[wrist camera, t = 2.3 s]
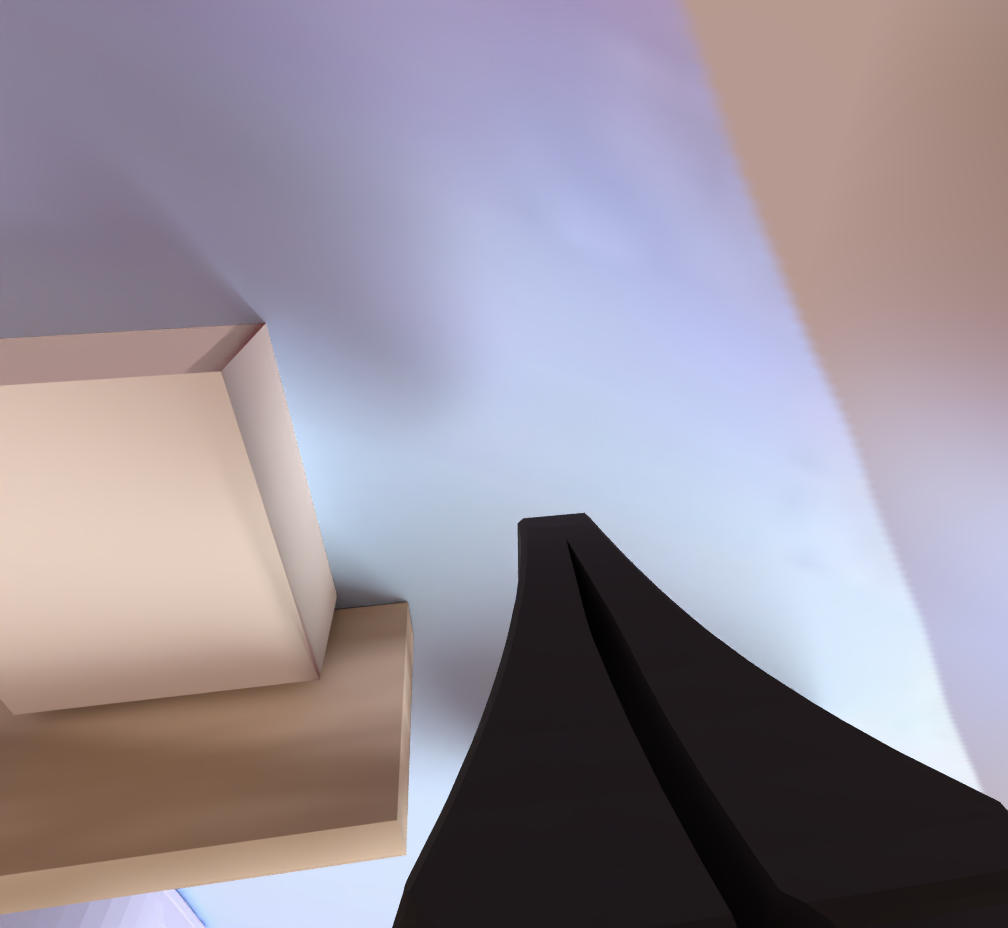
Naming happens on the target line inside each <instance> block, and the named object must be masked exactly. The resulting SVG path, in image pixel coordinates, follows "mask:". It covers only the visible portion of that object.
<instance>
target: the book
mask: <svg viewBox="0 0 1008 928" xmlns="http://www.w3.org/2000/svg"><path fill="white" fill-rule="evenodd" d="M336 599H337V593H336V589H335V586H334V582H333V578H332V574H331V570H330V566H329V563H328V559H327V555H326V551H325V547H324V543H323V540H322V536H321V532H320V528H319V524H318V520H317V517H316V513H315V509H314V505H313V501H312V497H311V494H310V490H309V486H308V482H307V478H306V474H305V471H304V467H303V463H302V459H301V455H300V451H299V448H298V444H297V440H296V436H295V432H294V428H293V425H292V421H291V417H290V413H289V409H288V405H287V402H286V398H285V394H284V390H283V386H282V382H281V379H280V375H279V371H278V367H277V363H276V359H275V355H274V352H273V348H272V344H271V340H270V336H269V332H268V329H267V325H266V323H262V324H245V325H227V326H210V327H193V328H175V329H158V330H141V331H123V332H106V333H89V334H71V335H54V336H37V337H19V338H2V339H0V699H1V700H2V702H3V703H4V704H5V705H6V706H7V708H8V709H9V710H10V711H11V712H12V714H13V715H17V714H26V713H35V712H43V711H52V710H61V709H69V708H78V707H87V706H95V705H104V704H112V703H121V702H130V701H138V700H147V699H156V698H164V697H173V696H182V695H190V694H199V693H208V692H216V691H225V690H234V689H242V688H251V687H260V686H268V685H277V684H286V683H294V682H303V681H312V680H320V675H321V670H322V665H323V661H324V656H325V651H326V646H327V642H328V637H329V632H330V627H331V623H332V618H333V613H334V608H335V604H336Z"/></svg>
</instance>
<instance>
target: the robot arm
mask: <svg viewBox="0 0 1008 928" xmlns="http://www.w3.org/2000/svg"><path fill="white" fill-rule="evenodd" d="M0 928H205V926H204V925H203V924H202V923H201V921H200V920H199V919H198V918H197V916H196V915H195V914H194V913H193V911H192V910H191V909H190V908H189V906H188V905H187V904H186V902H185V901H184V900H183V899H182V897H181V896H180V895H179V894H178V892H177V891H176V890H175V889H172V890H165V891H158V892H151V893H145V894H138V895H131V896H124V897H117V898H110V899H104V900H97V901H90V902H83V903H76V904H70V905H63V906H56V907H49V908H42V909H36V910H29V911H22V912H15V913H8V914H2V915H0ZM392 928H1008V810H1006V808H1005V807H1004V806H1003V805H1002V804H1001V803H1000V802H999V801H997V800H995V799H993V798H991V797H989V796H987V795H985V794H983V793H981V792H979V791H977V790H975V789H973V788H971V787H969V786H967V785H965V784H963V783H961V782H959V781H957V780H955V779H953V778H951V777H949V776H947V775H945V774H943V773H941V772H939V771H937V770H935V769H933V768H931V767H929V766H927V765H925V764H923V763H921V762H919V761H917V760H915V759H913V758H911V757H909V756H907V755H904V754H903V753H901V752H899V751H897V750H895V749H893V748H891V747H889V746H888V745H886V744H884V743H882V742H880V741H879V740H877V739H875V738H873V737H871V736H870V735H868V734H866V733H864V732H863V731H861V730H859V729H857V728H855V727H854V726H852V725H850V724H848V723H846V722H845V721H843V720H841V719H839V718H838V717H836V716H834V715H833V714H831V713H829V712H828V711H826V710H824V709H823V708H821V707H819V706H818V705H816V704H814V703H813V702H811V701H809V700H808V699H806V698H805V697H803V696H802V695H800V694H798V693H797V692H795V691H794V690H792V689H791V688H789V687H787V686H786V685H784V684H783V683H781V682H780V681H778V680H777V679H775V678H773V677H772V676H770V675H769V674H767V673H766V672H764V671H763V670H761V669H760V668H758V667H757V666H755V665H754V664H753V663H751V662H750V661H748V660H747V659H745V658H744V657H743V656H741V655H740V654H739V653H737V652H736V651H734V650H733V649H732V648H730V647H729V646H728V645H726V644H725V643H724V642H722V641H721V640H720V639H718V638H717V637H716V636H714V635H713V634H712V633H710V632H709V631H708V630H707V629H705V628H704V627H703V626H702V625H700V624H699V623H698V622H697V621H696V620H694V619H693V618H692V617H691V616H690V615H689V614H687V613H686V612H685V611H684V610H683V609H682V608H680V607H679V606H678V605H677V604H676V603H675V602H673V601H672V600H671V599H670V598H669V597H668V596H667V595H666V594H665V593H663V592H662V591H661V590H660V589H659V588H658V587H657V586H656V585H655V584H654V583H653V582H652V581H651V580H650V579H649V578H648V577H647V576H645V575H644V574H643V573H642V572H641V571H640V570H639V569H638V568H637V567H636V566H635V565H634V564H633V563H632V562H631V561H630V560H629V559H628V558H627V557H626V556H625V555H624V554H623V553H622V552H621V551H620V550H619V549H618V548H617V546H616V545H615V544H614V543H613V542H612V541H611V540H610V539H609V538H608V537H607V536H606V535H605V534H604V533H603V532H602V530H601V529H600V528H599V527H598V526H597V525H596V524H595V523H594V522H593V521H592V520H591V518H590V517H589V516H587V515H586V514H585V513H578V514H567V515H556V516H545V517H534V518H523V519H522V520H521V521H520V522H519V523H518V587H517V595H516V600H515V605H514V610H513V614H512V619H511V623H510V628H509V632H508V636H507V640H506V644H505V648H504V651H503V655H502V658H501V662H500V665H499V668H498V672H497V675H496V678H495V681H494V684H493V687H492V690H491V693H490V696H489V698H488V701H487V704H486V707H485V710H484V713H483V715H482V718H481V721H480V723H479V726H478V729H477V731H476V734H475V736H474V739H473V741H472V744H471V746H470V748H469V751H468V753H467V755H466V757H465V760H464V762H463V764H462V767H461V769H460V771H459V774H458V776H457V778H456V780H455V783H454V785H453V787H452V790H451V792H450V794H449V797H448V799H447V801H446V803H445V805H444V807H443V809H442V811H441V814H440V816H439V818H438V820H437V821H436V823H435V825H434V827H433V829H432V831H431V833H430V835H429V837H428V839H427V841H426V843H425V845H424V847H423V849H422V851H421V853H420V855H419V857H418V859H417V861H416V863H415V865H414V867H413V869H412V871H411V873H410V875H409V877H408V879H407V881H406V884H405V887H404V891H403V895H402V898H401V901H400V905H399V908H398V911H397V914H396V917H395V921H394V924H393V927H392Z"/></svg>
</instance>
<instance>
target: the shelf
mask: <svg viewBox="0 0 1008 928" xmlns="http://www.w3.org/2000/svg"><path fill="white" fill-rule="evenodd" d="M413 641H414V636H413V630H412V624H411V618H410V612H409V606H408V602H405V603H396V604H386V605H377V606H367V607H358V608H348V609H338V610H334V613H333V618H332V623H331V627H330V632H329V637H328V642H327V646H326V651H325V656H324V661H323V665H322V670H321V675H320V680H312V681H303V682H294V683H286V684H277V685H268V686H260V687H251V688H242V689H234V690H225V691H216V692H208V693H199V694H190V695H182V696H173V697H164V698H156V699H147V700H138V701H130V702H121V703H112V704H104V705H95V706H87V707H78V708H69V709H61V710H52V711H43V712H35V713H26V714H17V715H13V714H12V712H11V711H10V710H9V709H8V708H7V706H6V705H5V704H4V703H3V702H2V700H1V699H0V915H2V914H8V913H15V912H22V911H29V910H36V909H42V908H49V907H56V906H63V905H70V904H76V903H83V902H90V901H97V900H104V899H110V898H117V897H124V896H131V895H138V894H145V893H151V892H158V891H165V890H172V889H179V888H185V887H192V886H199V885H206V884H213V883H219V882H226V881H233V880H240V879H247V878H253V877H260V876H267V875H274V874H281V873H288V872H294V871H301V870H308V869H315V868H322V867H328V866H335V865H342V864H349V863H356V862H362V861H369V860H376V859H383V858H390V857H396V856H403V855H406V842H407V813H408V785H409V756H410V727H411V698H412V670H413Z"/></svg>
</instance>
